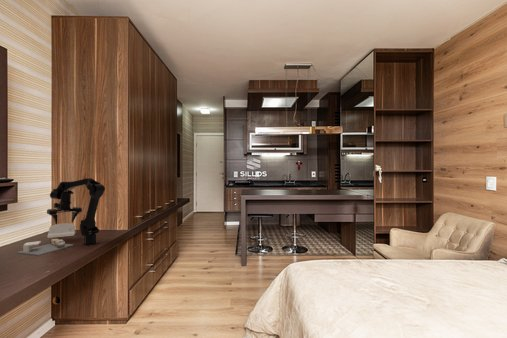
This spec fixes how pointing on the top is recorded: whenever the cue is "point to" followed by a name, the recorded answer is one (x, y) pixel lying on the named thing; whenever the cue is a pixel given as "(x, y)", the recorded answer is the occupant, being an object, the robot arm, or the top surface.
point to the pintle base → (41, 248)
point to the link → (57, 242)
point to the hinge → (61, 230)
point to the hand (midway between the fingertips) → (64, 223)
